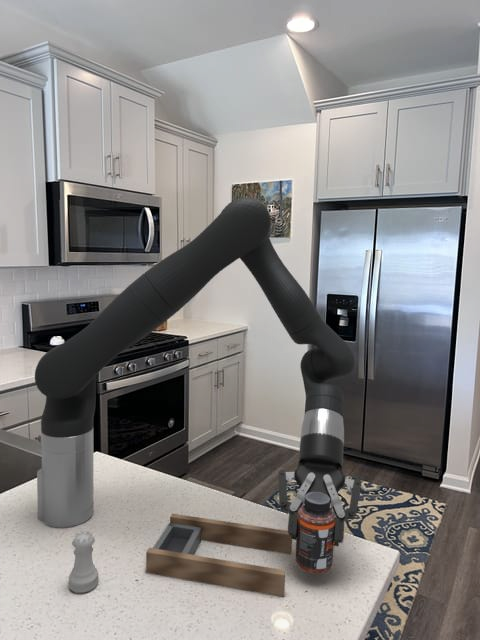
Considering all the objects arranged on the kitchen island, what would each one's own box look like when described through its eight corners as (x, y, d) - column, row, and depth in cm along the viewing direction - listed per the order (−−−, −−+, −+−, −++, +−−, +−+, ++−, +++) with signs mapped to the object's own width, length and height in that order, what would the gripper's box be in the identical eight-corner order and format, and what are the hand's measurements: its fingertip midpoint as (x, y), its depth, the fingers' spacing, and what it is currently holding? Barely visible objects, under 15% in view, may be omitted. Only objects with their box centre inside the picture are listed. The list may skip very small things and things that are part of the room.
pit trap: (149, 567, 77) (149, 552, 77) (169, 535, 86) (169, 522, 86) (184, 573, 76) (185, 558, 76) (201, 540, 85) (201, 527, 85)
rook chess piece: (81, 598, 70) (81, 547, 69) (61, 587, 72) (61, 537, 71) (105, 582, 73) (105, 533, 72) (85, 571, 76) (85, 523, 75)
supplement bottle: (332, 578, 73) (336, 509, 72) (293, 572, 74) (296, 504, 73) (332, 555, 79) (336, 490, 77) (296, 550, 80) (299, 486, 79)
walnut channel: (145, 572, 76) (146, 552, 75) (172, 531, 87) (172, 513, 87) (283, 596, 71) (284, 575, 71) (291, 550, 83) (292, 531, 83)
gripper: (280, 427, 83) (267, 528, 73) (365, 436, 80) (364, 542, 70) (282, 445, 89) (270, 541, 79) (362, 453, 86) (360, 554, 76)
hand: (315, 541), depth 74 cm, fingers closed on supplement bottle, 6 cm apart
